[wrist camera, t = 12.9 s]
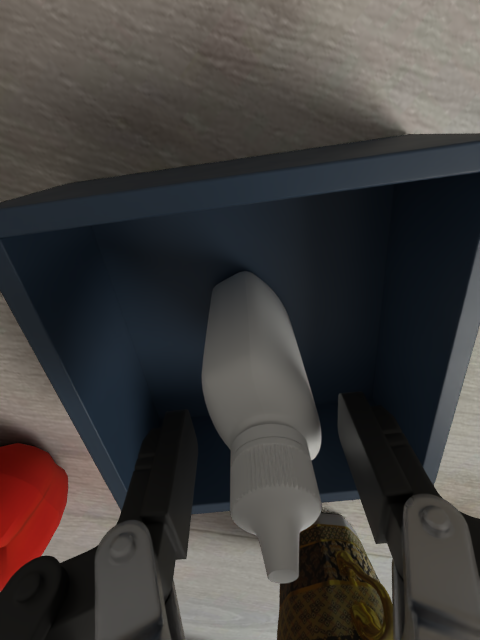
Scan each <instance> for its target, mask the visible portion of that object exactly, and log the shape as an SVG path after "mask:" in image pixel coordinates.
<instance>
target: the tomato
mask: <svg viewBox="0 0 480 640" xmlns="http://www.w3.org/2000/svg"><path fill="white" fill-rule="evenodd" d="M67 494H68V476H67V474H66V472H65V470H64V469H62V468H61V467H60V466H58V465H57V464H56V463H55V462H54V460H53V459H52V457H51V456H50V454H49V453H48V452H46V451H43V450H41V449H39V448H37V447H35V446H30V445H25V444H20V443H15V444H11V445H7V446H2V447H0V591H2V589H3V588H4V586H5V585H6V583H7V582H8V581H9V579H10V578H11V577H12V576H13V575H14V573H15V572H16V571H17V570H19V569H20V568H21V567H22V566H23V565H25V564H26V563H27V562H29V561H31V560H33V559H35V558H37V557H40V556H41V555H42V554H43V552H44V550H45V549H46V547H47V545H48V543H49V542H50V540H51V538H52V536H53V534H54V533H55V531H56V529H57V527H58V525H59V523H60V520H61V518H62V515H63V512H64V509H65V506H66V503H67Z"/></svg>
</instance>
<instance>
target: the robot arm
mask: <svg viewBox="0 0 480 640" xmlns="http://www.w3.org/2000/svg"><path fill="white" fill-rule="evenodd" d="M337 426H338V434H339V438H340V442H341V445H342V448H343V451H344V454H345V456H346V459H347V462H348V465H349V468H350V471H351V474H352V477H353V479H354V482H355V485H356V488H357V491H358V494H359V497H360V500H361V502H362V505H363V508H364V511H365V514H366V517H367V520H368V522H369V525H370V528H371V531H372V534H373V537H374V540H375V543H376V544H381V543H387V544H388V547H389V549H390V552H391V555H392V557H393V559H392V602H393V640H480V519H478V518H474V517H471V516H468V515H466V514H464V513H462V512H460V511H458V510H457V509H456V508H455V507H454V506H453V505H452V504H450V503H449V502H448V501H446V500H444V499H443V498H442V497H441V496H440V495H439V494H438V492H437V491H436V489H435V488H434V486H433V484H432V482H431V481H430V479H429V477H428V475H427V474H426V472H425V470H424V468H423V467H422V465H421V463H420V461H419V460H418V458H417V456H416V454H415V452H414V451H413V449H412V447H411V445H409V443H408V440H407V438H406V437H405V435H404V433H402V430H401V428H400V426H399V424H398V423H397V421H396V419H395V417H394V416H393V415H392V414H391V413H389V412H388V411H387V410H386V409H385V408H384V407H382V406H381V405H377V406H370V405H369V403H368V401H367V399H366V397H365V395H364V393H363V392H362V391H357V392H348V393H339V396H338V421H337ZM197 459H198V442H197V437H196V434H195V430H194V427H193V423H192V420H191V416H190V413H189V410H188V409H184V410H174V411H167V412H166V413H165V416H164V420H163V424H162V427H161V428H152V429H151V430H150V432H149V433H148V435H147V436H146V437H145V439H144V440H143V441H142V444H141V448H140V451H139V454H138V459H137V461H136V464H135V471H133V474H132V478H131V481H130V484H129V488H128V491H127V495H126V498H125V501H124V505H123V508H122V511H121V515H120V518H119V520H118V522H117V524H116V526H114V527H113V528H112V529H111V530H109V531H108V532H107V534H106V535H105V536H104V537H103V539H102V540H101V542H100V544H99V545H98V546H96V547H95V548H93V549H91V550H89V551H87V552H85V553H82V554H80V555H78V556H76V557H73V558H71V559H69V560H67V561H64V562H62V563H59V562H58V560H57V559H56V558H54V557H52V556H40V557H37V558H35V559H33V560H31V561H29V562H27V563H26V564H25V565H23V566H22V567H21V568H20V569H19V570H17V571H16V572H15V573H14V575H13V576H12V577H11V578H10V579H9V581H8V582H7V583H6V585H5V586H4V588H3V589H2V591H1V592H0V640H185V636H184V631H183V626H182V621H181V616H180V610H179V605H178V600H177V595H176V590H175V585H174V581H173V575H174V567H175V560H178V559H186V557H187V548H188V539H189V531H190V522H191V513H192V504H193V495H194V486H195V477H196V468H197Z"/></svg>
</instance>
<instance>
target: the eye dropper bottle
mask: <svg viewBox="0 0 480 640" xmlns="http://www.w3.org/2000/svg"><path fill="white" fill-rule="evenodd" d="M202 389H203V394H204V399H205V403H206V406H207V409H208V412H209V415H210V417H211V420H212V422H213V424H214V426H215V428H216V430H217V432H218V433H219V435H220V437H221V438H222V440H223V441H224V443H225V444H226V445H227V446H228V448H229V449H230V450H231V459H230V515H231V518H232V519H233V521H234V522H235V523H236V524H237V525H238V526H239V527H240V528H241V529H243V530H244V531H246V532H248V533H251V534H254V535H257V536H258V539H259V543H260V547H261V551H262V555H263V559H264V564H265V568H266V572H267V576H268V579H269V580H270V581H271V582H274V583H289V582H293V581H295V580H296V579H297V578H298V576H299V534H300V532H301V531H303V530H305V529H307V528H308V527H310V526H311V525H312V524H313V523H314V522H315V521H316V520H317V518H318V517H319V515H320V513H321V510H322V508H321V507H322V505H321V504H322V503H321V499H320V495H319V490H318V486H317V482H316V478H315V474H314V469H313V465H312V461H311V460H313V459H314V458H315V457H316V456H317V454H318V452H319V450H320V446H321V426H320V421H319V416H318V413H317V409H316V406H315V402H314V399H313V395H312V392H311V389H310V385H309V382H308V379H307V375H306V372H305V369H304V365H303V362H302V359H301V355H300V352H299V349H298V345H297V342H296V339H295V336H294V332H293V329H292V326H291V322H290V319H289V317H288V314H287V312H286V310H285V308H284V306H283V304H282V302H281V301H280V299H279V298H278V296H277V295H276V294H275V293H274V291H273V290H272V289H271V288H270V287H269V286H268V285H267V284H266V283H265V282H264V281H262V280H261V279H260V278H259V277H257V276H256V275H254V274H253V273H251V272H247V271H243V272H239V273H237V274H235V275H233V276H231V277H229V278H227V279H226V280H224V281H222V282H220V283H219V284H217V285H216V286H215V287H214V288H213V291H212V296H211V303H210V310H209V318H208V325H207V332H206V340H205V348H204V355H203V365H202Z"/></svg>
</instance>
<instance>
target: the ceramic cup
mask: <svg viewBox="0 0 480 640" xmlns="http://www.w3.org/2000/svg"><path fill="white" fill-rule="evenodd" d="M277 640H393V604H392V602H391V599H390V597H389V594H388V593H387V591H386V589H385V588H384V586H383V585H382V584H381V583H380V581H379V579H378V577H377V575H376V573H375V571H374V569H373V567H372V565H371V563H370V561H369V559H368V557H367V555H366V552H365V550H364V548H363V546H362V544H361V542H360V540H359V538H358V536H357V534H356V531H355V530H354V529H353V528H352V526H351V525H350V524H349V523H348V522H347V521H346V520H345V519H344V518H343V517H342V516H341V515H336V514H326V513H320V515H319V517H318V518H317V520H316V521H315V522H314V523H313V524H312V525H311V526H310V527H308V528H307V529H305V530H303V531H301V532H300V534H299V576H298V578H297V579H296V580H295V581H293V582H289V583H280V609H279V620H278V631H277Z"/></svg>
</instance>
